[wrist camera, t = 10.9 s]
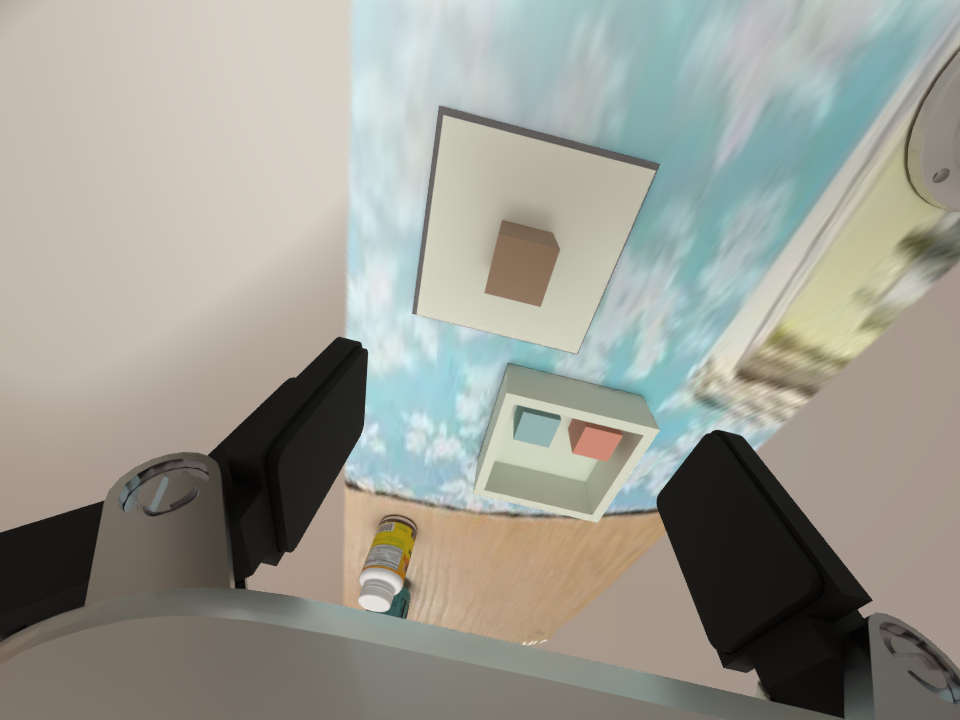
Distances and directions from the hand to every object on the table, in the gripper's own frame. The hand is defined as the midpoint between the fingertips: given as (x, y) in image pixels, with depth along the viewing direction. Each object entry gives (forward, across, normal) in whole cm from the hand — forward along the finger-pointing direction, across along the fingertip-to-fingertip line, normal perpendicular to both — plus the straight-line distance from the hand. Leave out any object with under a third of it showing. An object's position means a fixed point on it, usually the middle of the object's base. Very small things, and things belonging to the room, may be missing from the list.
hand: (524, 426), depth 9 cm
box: (+22, -9, +18) cm, 30 cm away
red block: (+22, -12, +15) cm, 29 cm away
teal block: (+21, -6, +15) cm, 27 cm away
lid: (+22, 0, 0) cm, 22 cm away
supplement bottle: (+22, +6, +42) cm, 48 cm away
